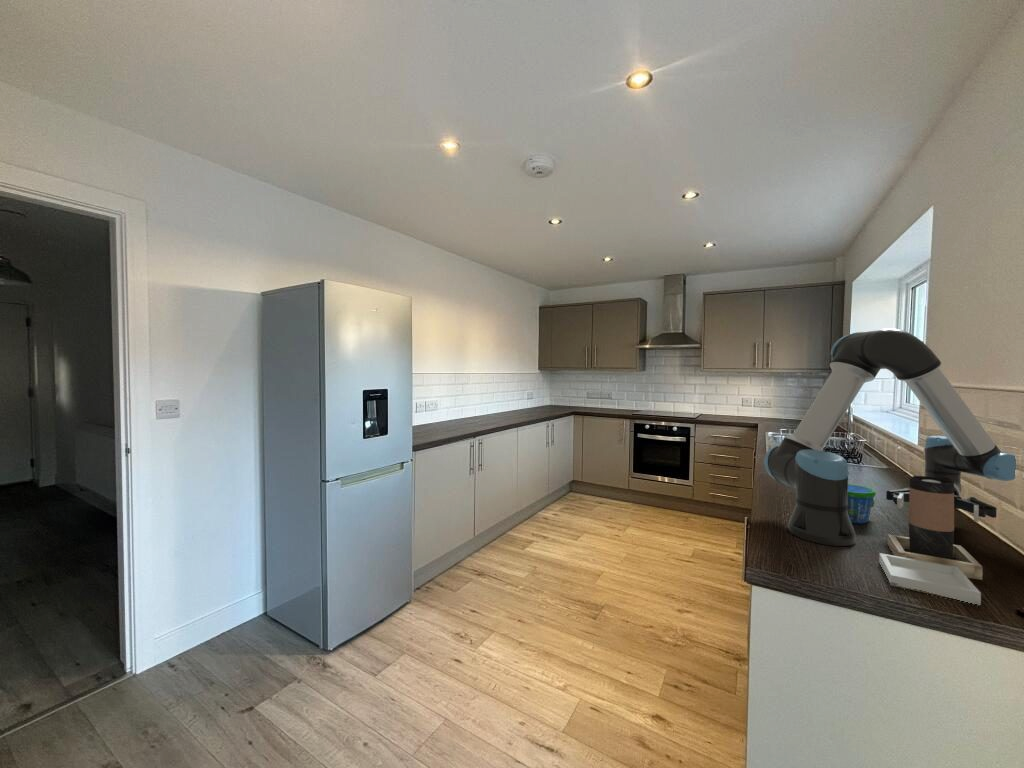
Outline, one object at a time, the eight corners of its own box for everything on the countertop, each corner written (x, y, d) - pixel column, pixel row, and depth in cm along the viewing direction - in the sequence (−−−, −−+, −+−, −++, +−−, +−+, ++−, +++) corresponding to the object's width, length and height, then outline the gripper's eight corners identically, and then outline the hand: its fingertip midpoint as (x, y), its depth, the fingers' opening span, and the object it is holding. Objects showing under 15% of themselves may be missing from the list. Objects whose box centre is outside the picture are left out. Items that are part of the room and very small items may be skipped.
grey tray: (890, 586, 86) (890, 575, 86) (879, 563, 97) (879, 553, 97) (980, 605, 79) (981, 593, 79) (957, 578, 89) (957, 567, 89)
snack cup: (847, 527, 120) (847, 494, 119) (815, 515, 130) (815, 484, 130) (891, 524, 122) (891, 491, 122) (856, 513, 132) (856, 482, 132)
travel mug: (963, 569, 93) (964, 484, 93) (924, 566, 95) (925, 482, 95) (936, 555, 101) (936, 476, 101) (900, 553, 102) (901, 475, 102)
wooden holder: (899, 564, 96) (899, 552, 96) (887, 545, 107) (887, 534, 107) (982, 580, 89) (982, 566, 88) (960, 557, 100) (960, 545, 100)
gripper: (1008, 517, 107) (1013, 538, 93) (882, 496, 126) (870, 511, 112) (1008, 489, 107) (1013, 506, 93) (882, 473, 126) (871, 485, 112)
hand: (935, 509), depth 103 cm, fingers open, 13 cm apart
